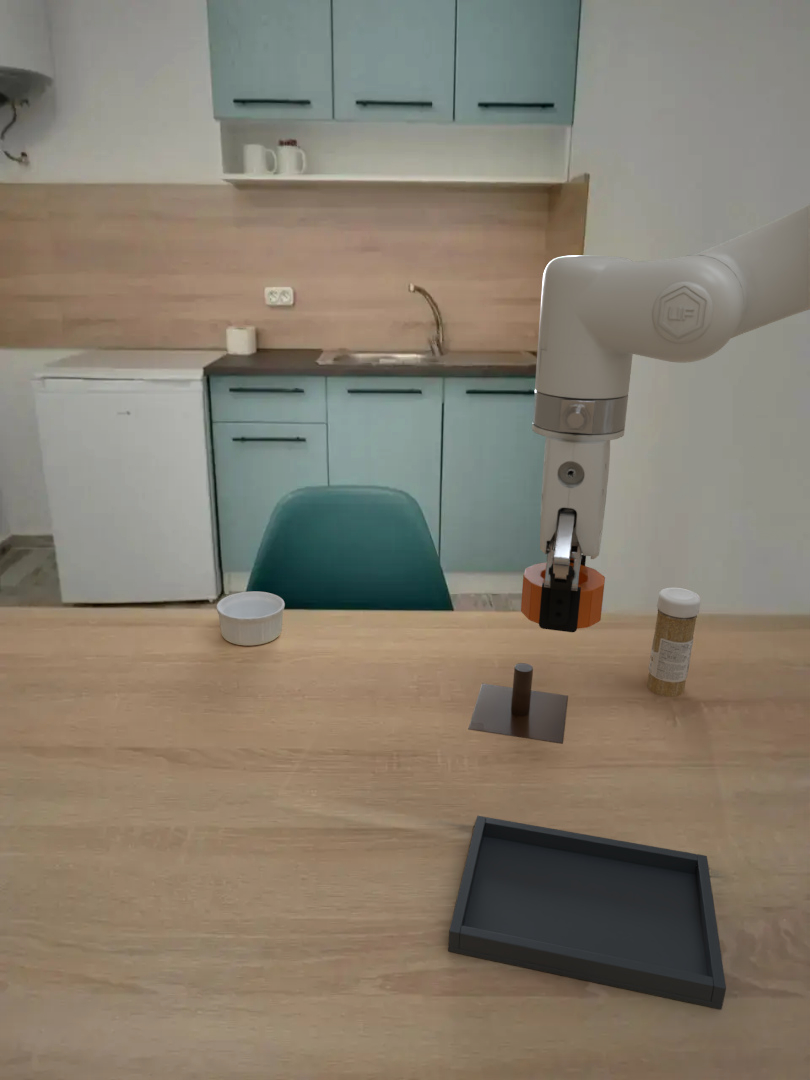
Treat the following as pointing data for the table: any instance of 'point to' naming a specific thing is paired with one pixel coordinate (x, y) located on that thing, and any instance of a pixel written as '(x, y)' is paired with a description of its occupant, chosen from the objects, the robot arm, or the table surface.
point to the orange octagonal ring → (588, 582)
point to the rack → (520, 709)
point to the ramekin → (251, 617)
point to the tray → (590, 910)
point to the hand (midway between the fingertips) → (561, 609)
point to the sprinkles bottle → (672, 641)
